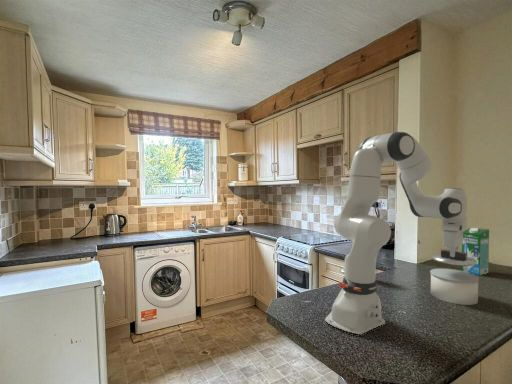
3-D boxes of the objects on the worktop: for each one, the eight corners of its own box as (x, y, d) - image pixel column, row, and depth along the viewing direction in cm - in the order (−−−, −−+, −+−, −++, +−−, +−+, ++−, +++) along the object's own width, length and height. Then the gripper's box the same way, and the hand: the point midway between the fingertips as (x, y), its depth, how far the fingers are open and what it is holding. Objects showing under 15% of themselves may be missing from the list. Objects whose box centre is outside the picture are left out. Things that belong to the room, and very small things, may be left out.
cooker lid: (473, 268, 110) (473, 258, 110) (427, 260, 122) (427, 251, 122) (479, 260, 121) (479, 251, 121) (437, 254, 133) (437, 246, 133)
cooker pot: (475, 309, 109) (475, 284, 109) (425, 296, 122) (425, 274, 122) (481, 296, 121) (482, 274, 121) (435, 286, 134) (435, 266, 134)
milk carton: (461, 271, 158) (462, 228, 157) (470, 269, 162) (471, 227, 161) (479, 275, 150) (480, 230, 149) (488, 273, 153) (489, 229, 153)
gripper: (450, 221, 130) (450, 250, 131) (440, 226, 116) (439, 258, 117) (467, 223, 126) (467, 252, 126) (458, 228, 112) (457, 261, 112)
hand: (453, 255), depth 121 cm, fingers closed on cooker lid, 3 cm apart
